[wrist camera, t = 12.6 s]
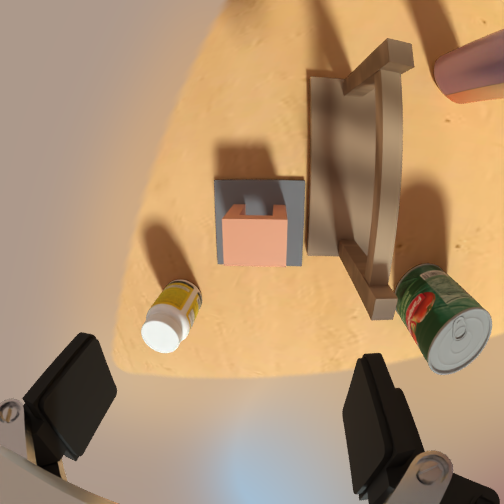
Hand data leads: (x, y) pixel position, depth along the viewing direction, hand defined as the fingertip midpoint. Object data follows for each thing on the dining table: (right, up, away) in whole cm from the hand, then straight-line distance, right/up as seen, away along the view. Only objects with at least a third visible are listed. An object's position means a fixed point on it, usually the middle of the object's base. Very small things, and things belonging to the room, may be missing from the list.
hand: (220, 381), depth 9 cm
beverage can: (+24, +24, +13) cm, 36 cm away
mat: (+2, +7, +21) cm, 22 cm away
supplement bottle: (-7, -1, +25) cm, 26 cm away
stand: (+11, +13, +18) cm, 25 cm away
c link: (+2, +7, +20) cm, 22 cm away
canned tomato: (+22, 0, +22) cm, 31 cm away
